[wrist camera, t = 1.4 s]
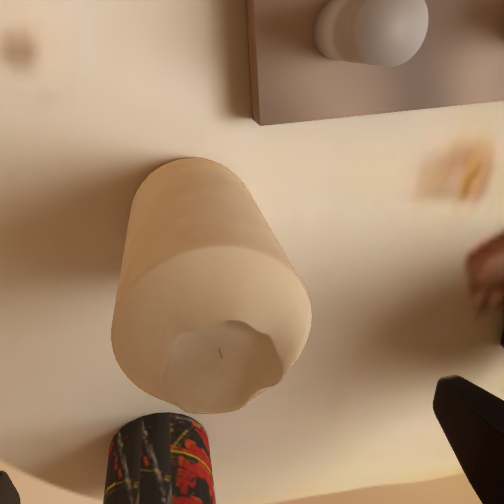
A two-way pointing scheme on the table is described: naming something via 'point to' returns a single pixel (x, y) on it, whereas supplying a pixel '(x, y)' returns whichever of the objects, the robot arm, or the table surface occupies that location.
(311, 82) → the peg holder
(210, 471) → the deodorant
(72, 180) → the table surface
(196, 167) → the candle
